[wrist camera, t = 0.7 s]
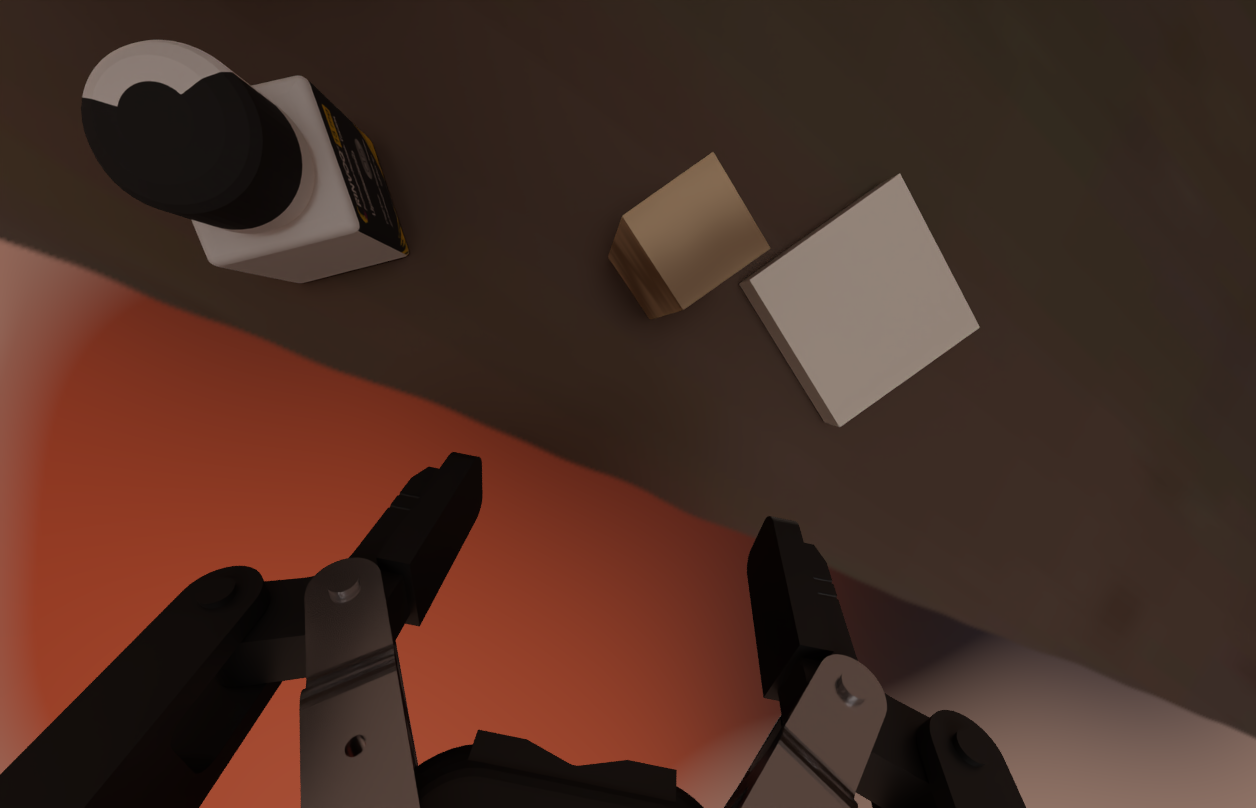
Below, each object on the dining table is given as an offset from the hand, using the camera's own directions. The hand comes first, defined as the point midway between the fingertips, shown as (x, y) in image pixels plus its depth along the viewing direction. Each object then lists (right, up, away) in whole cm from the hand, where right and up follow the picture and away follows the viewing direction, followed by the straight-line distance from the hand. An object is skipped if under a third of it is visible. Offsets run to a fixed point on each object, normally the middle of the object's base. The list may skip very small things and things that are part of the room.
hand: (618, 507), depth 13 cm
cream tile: (+16, +10, +20) cm, 27 cm away
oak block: (+2, +12, +18) cm, 22 cm away
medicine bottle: (-18, +15, +16) cm, 28 cm away
